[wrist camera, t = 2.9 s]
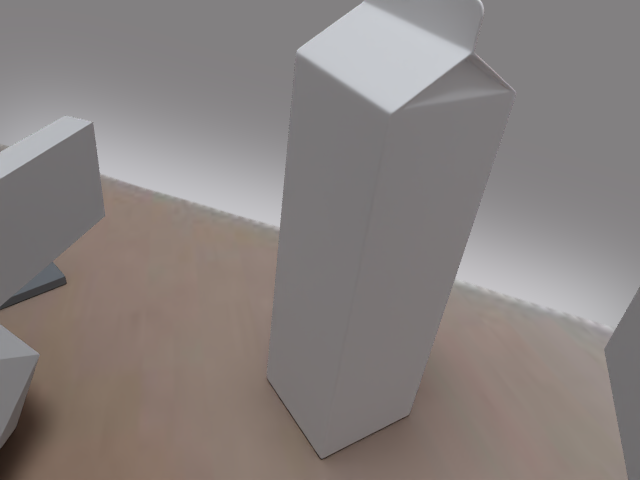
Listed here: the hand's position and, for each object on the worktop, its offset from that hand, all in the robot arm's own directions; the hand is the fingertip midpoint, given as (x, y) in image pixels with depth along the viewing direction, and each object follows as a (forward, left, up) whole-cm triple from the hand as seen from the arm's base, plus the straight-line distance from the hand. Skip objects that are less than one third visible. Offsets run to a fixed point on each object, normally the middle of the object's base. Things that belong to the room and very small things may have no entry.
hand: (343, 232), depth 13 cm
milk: (-5, +9, -18) cm, 21 cm away
